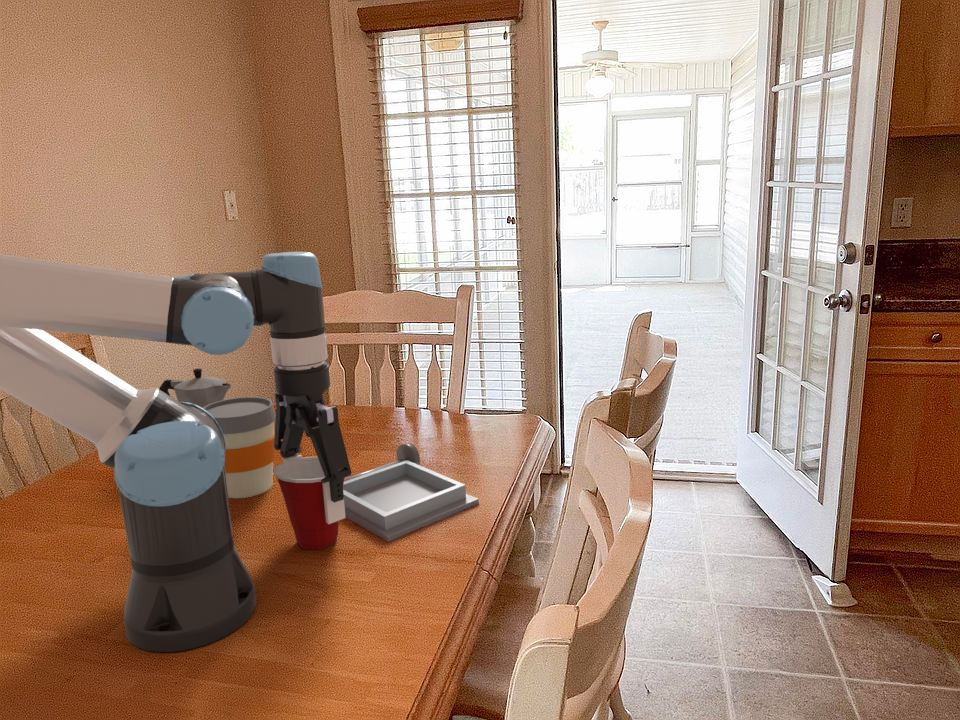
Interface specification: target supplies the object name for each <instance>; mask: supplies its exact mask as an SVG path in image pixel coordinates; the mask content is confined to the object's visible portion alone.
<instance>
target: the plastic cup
mask: <svg viewBox="0 0 960 720" xmlns="http://www.w3.org/2000/svg"><path fill="white" fill-rule="evenodd" d="M273 475H274V476H275V479H277V482H278V485H279V488H280V491H281V493H282V496H283V499H284V504H285V507H286V511H287V515H288V517H289V521H290V524H291V527H292V529H293V532H294V536H295V540H296V542H297V544H298V547H300V548H301V549H304V550H309V551H312V550H313V551H316V550H322V549H325V548H329V547H330V546H332V545H333V544H334V543H336V541H337V540H338V534H339V525H340V524H339V523H340V520H339V521H336V522H334V523H331V524H328V523H326V516H325V505H324V495H323V485H322V481H321V480H322V479H323V478H325V475H324V473H323V470H322V467H321V465H320V462H319V459H318V457H317V456H307V457H302V458H297V459H293V460H289V461H285V462H284V461H283V462H281V463H279V464H277V465H275V467H273ZM344 479H345V478H343V479H342V482H343V484H344Z"/></svg>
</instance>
